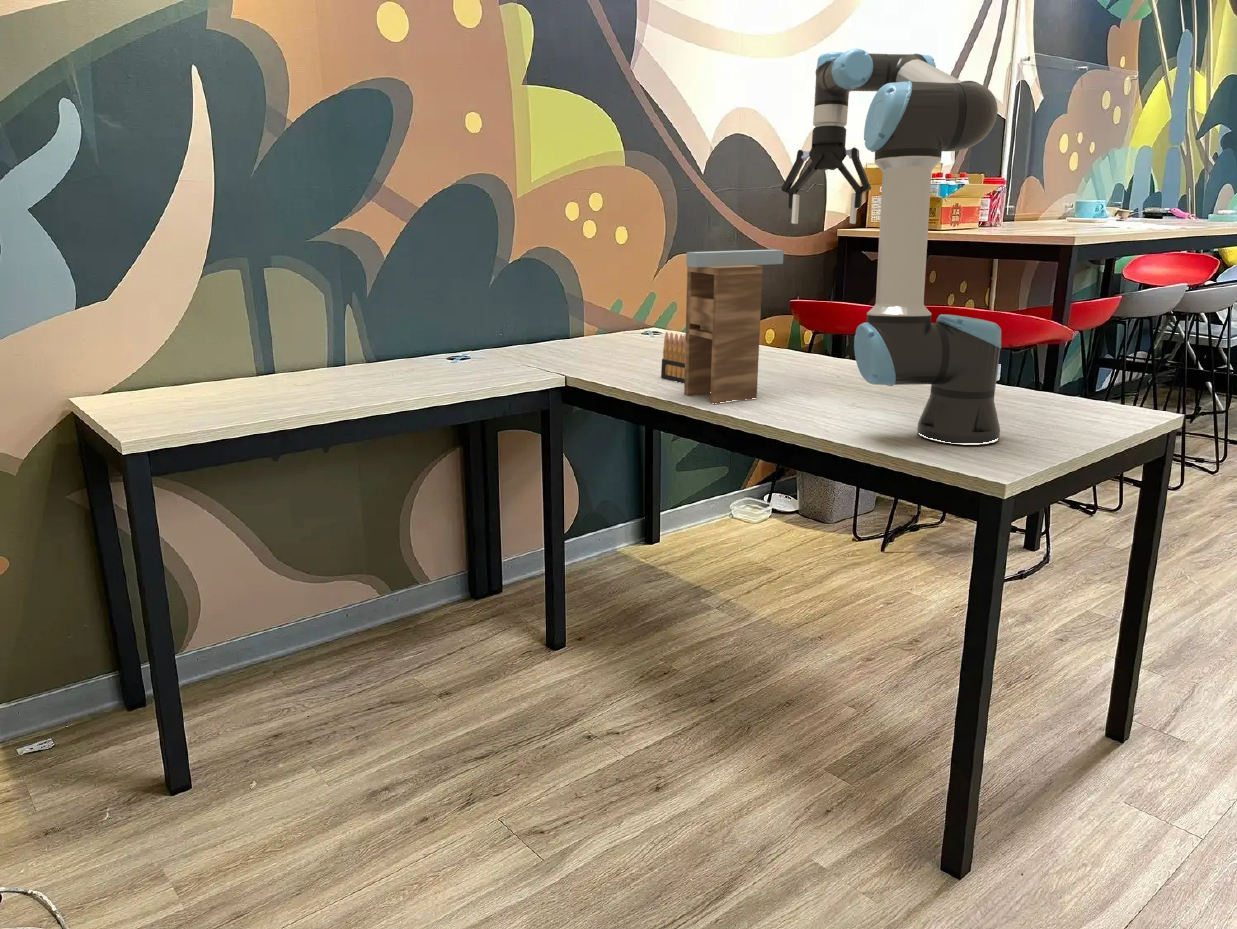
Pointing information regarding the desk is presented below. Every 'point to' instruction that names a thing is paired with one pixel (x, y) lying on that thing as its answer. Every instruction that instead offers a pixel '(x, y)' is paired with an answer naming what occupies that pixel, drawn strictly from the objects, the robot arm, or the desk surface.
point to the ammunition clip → (673, 358)
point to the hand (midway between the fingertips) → (823, 223)
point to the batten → (734, 258)
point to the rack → (723, 331)
